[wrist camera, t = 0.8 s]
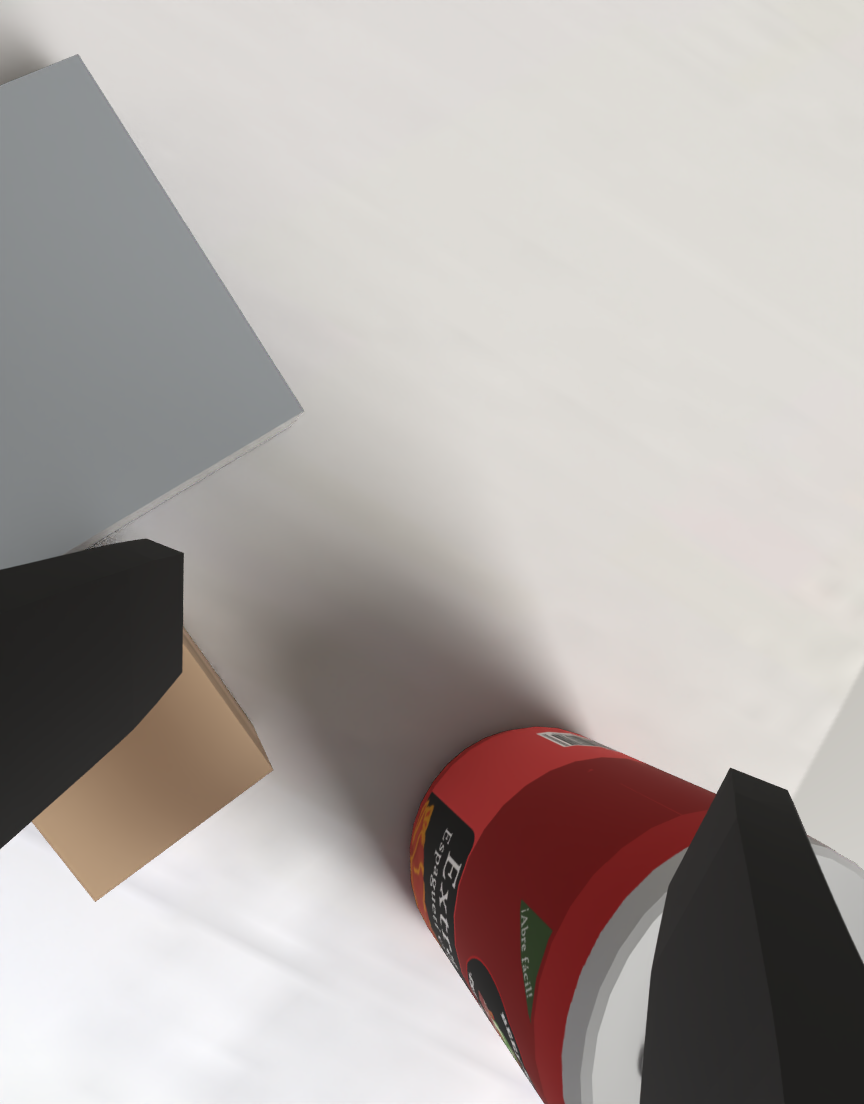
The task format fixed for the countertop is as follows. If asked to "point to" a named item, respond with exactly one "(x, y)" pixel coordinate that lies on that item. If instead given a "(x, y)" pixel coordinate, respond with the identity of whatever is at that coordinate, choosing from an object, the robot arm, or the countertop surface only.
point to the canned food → (565, 897)
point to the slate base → (108, 330)
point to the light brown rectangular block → (156, 780)
